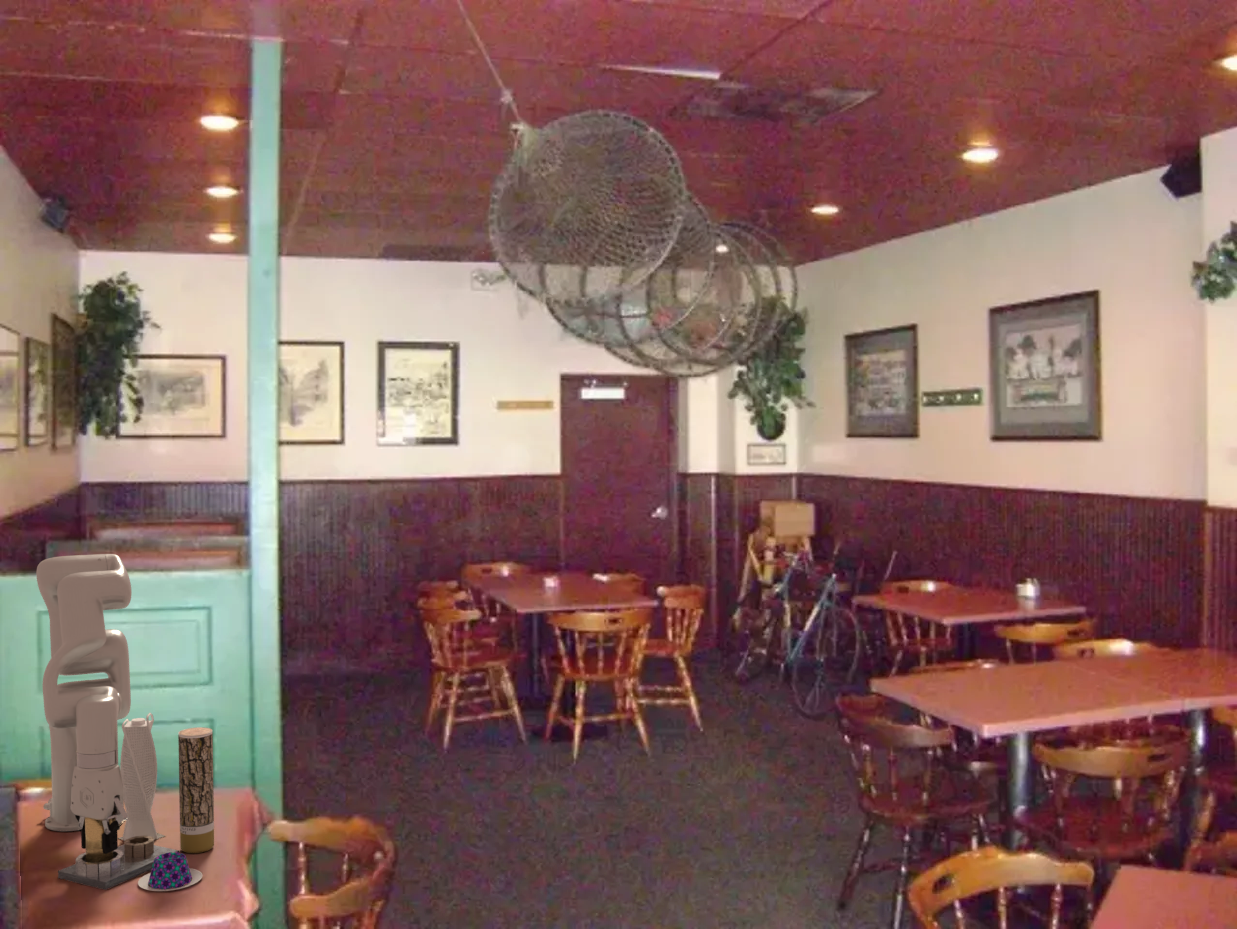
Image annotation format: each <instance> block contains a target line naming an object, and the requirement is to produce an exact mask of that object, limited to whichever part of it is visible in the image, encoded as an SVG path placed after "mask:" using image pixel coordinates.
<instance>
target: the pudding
mask: <svg viewBox="0 0 1237 929" xmlns="http://www.w3.org/2000/svg"><path fill="white" fill-rule="evenodd" d="M202 878H203V873H202V872H201V871H200V870H198V869H195V868H190V866H189V863H188V860H187V856H186V854H185V853H181V852H180V851H179V852H174V853H172V852H169V853H165V854H161V855H159V856H158V857H156V858H155V859H154V861H153V865H152V869H151V870H150V872H149V873H147V874H144V875H143V876H142V877H140V878H139V879H138V881H137V885H138V886H139V888H141V889H144V890H147V891H152V892H169V891H175V890H176V891H177V890H180V889H184V888H188V887H191V886H193V885H195V884H197V883H199V881H201V879H202ZM149 885H150V886H149Z"/></svg>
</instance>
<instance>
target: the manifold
mask: <svg viewBox="0 0 1237 929" xmlns="http://www.w3.org/2000/svg"><path fill="white" fill-rule="evenodd" d="M123 842H124V844H122V845H118V848H117V849H116V850H114V851H113V859H111V860H109V861H104V862H97V863H89V862H86V851H85V852H84V853H80V854H78V856H76V858H75V864H71V865H69V866H67V867H65V868H64V867H63V868H62V869H59V870H58V871H57V874H58V875H57V879H59V878H60V879H59V880H63V879H65V880H64V881H67V880H68V882H71V881H72V883H76V884H81V885H85V886H89V887H92V888H97V889H100V890H104V891H106V890H108V889H111V888H113V887H116V886H118V885H119V884H122V883H125V882H127V881H129V880H132V879H134V878H136V877H138V876H140V875H143V874H146V873H148V872H151V869H152V865H153V861H154V859H155V858H156V857H158V856H159V855H161V854H165V853H169V852H172V853H174V852H179V853H180V850H178V849H173V848H169V847H164V846H160V845H155V840H154V837H151V836H135V837H131V838H129V839H126V840H125V841H123Z"/></svg>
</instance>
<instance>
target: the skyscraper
mask: <svg viewBox="0 0 1237 929" xmlns="http://www.w3.org/2000/svg"><path fill="white" fill-rule="evenodd" d="M149 717H150V718H151V720H149ZM154 721H155V718H154V715H153V714H152V712H149V713H148V714H147V715H146V717H145V718H144V717H137V718H136V717H135V718H132V719H131V720H129V718H126V719H125V720H124V721H123V722H122V724H121V729H122V732H123V739H122V743H121V744H122V745H121V746H122V747H121V752H120V754H121V755H120V765H119V767H120V771H121V777H122V784H123V796H124V809H125V811H126V813H127V815H128V819H127V820H126V821H125V824H124V828H123V829H124V830H123V832H122V836H120V837H117V840H119V839H121V840H120V841H122V840H123V842H125V840H126V839H129V838H131V837H135V836H151V837H154V841H156V840H159V838H160V839H163V838H165V836H166V835H164V834H162V833H159V832H157V829H156V826H155V823H154V820H153V816H152V813H151V812H152V807H153V805H154V800H155V796H156V788H157V780H158V759H157V752H156V747H155V743H154V740H153V739H154V738H153V735H152V729H153V725H154V723H155V722H154ZM162 837H163V838H162Z"/></svg>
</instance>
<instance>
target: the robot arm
mask: <svg viewBox="0 0 1237 929" xmlns="http://www.w3.org/2000/svg"><path fill="white" fill-rule="evenodd" d="M35 575H36V582H37V586H38V590H39V592H40V595H41V597H42V599H43V602H44V604H45V606H46V610H47V612H48V617H49V636H50V637H49V638H50V656H51V657H50V660H49V661H48V663H47V665H46V667H45V670H44V672H43V677H42V695H43V696H42V697H43V708H44V709H43V710H44V716H45V720H46V723H47V724H48V728H49V736H50V759H51V760H50V766H51V795H52V796H51V798H49V799H48V801H47V802H46V803H44V804H43V810H47V811H49V816H48V817H47V818H46V819H45V820H44V826H45V828H46V829H48V830H50V831H54V832H73V831H74V832H76V831H80V834H81V835H80V837H81V838H80V840H81V849H83V850H86V840H85V817H86V818H91V819H95V820H101V821H102V822H103V827H104V831H105V833H103V834H102V846H103V853H105V854H107V853H109V852H112V851H114V850H116V849H117V848H118V847H119V845H118V840H119V839H118V831H119V830H120V829H121V827H122V825H123V823H124V822H125V823H126V820H127V819H128V815H127V813H126V808H125V804H124V796H123V784H122V777H121V771H120V765H119V741H118V740H119V738H118V737H119V735H118V732H119V731H118V720H123V719H124V718H126V717H127V716H128V715H129V713H130V711H131V706H132V705H131V702H132V700H131V676H130V675H131V674H130V673H131V672H130V652H129V646H128V645H129V644H128V641H127V638H126V635H125V634H124V633H123V632H122V631H121V630H119V629H116V628H115V629H107V628H106V625H105V618H104V617H105V615H104V611H109V610H110V611H113V610H122V609H125V608H127V607H128V606H129V605H130V603H131V600H132V584H131V579H130V575H129V573H128V571H127V569H126V566H125V564H124V561H123V560H122V559H121V557H120V556H119V555H117V554H115V553H97V554H79V555H78V554H76V555H75V554H74V555H63V556H61V555H60V556H53V557H49V558H46V559H43V560H42V561H40V562H39V564H38V565H37V567H36V574H35ZM102 673H103V674H106V675H107V678H106V677H105V678H97V679H86V680H85V679H84V680H74V681H73V680H72V681H67V682H62V683H59V684H58V678H59V676H81V675H91V674H92V675H93V674H102ZM110 819H112V823H111V824H109V820H110Z"/></svg>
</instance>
